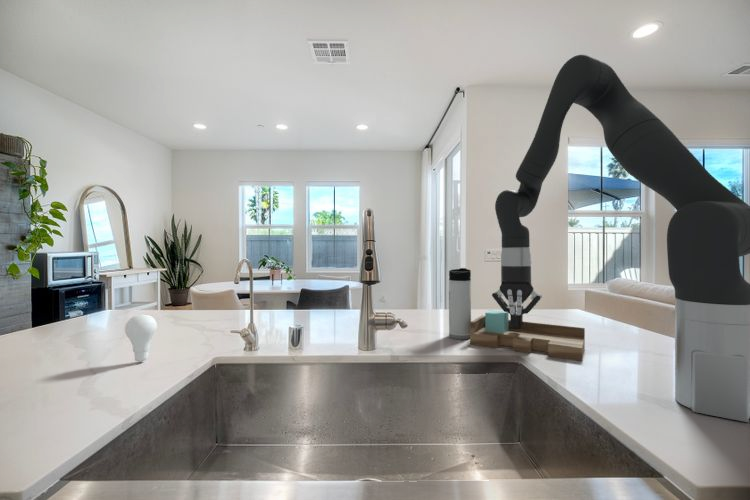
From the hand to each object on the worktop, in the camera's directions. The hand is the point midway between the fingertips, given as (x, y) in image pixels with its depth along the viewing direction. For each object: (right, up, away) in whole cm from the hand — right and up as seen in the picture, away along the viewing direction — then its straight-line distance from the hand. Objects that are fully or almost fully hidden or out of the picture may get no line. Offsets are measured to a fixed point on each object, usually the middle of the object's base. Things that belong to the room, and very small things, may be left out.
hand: (516, 328), depth 94 cm
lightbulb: (-92, -5, -14) cm, 93 cm away
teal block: (-4, -1, +3) cm, 5 cm away
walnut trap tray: (+1, -4, -3) cm, 5 cm away
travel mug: (-13, -4, +8) cm, 16 cm away
